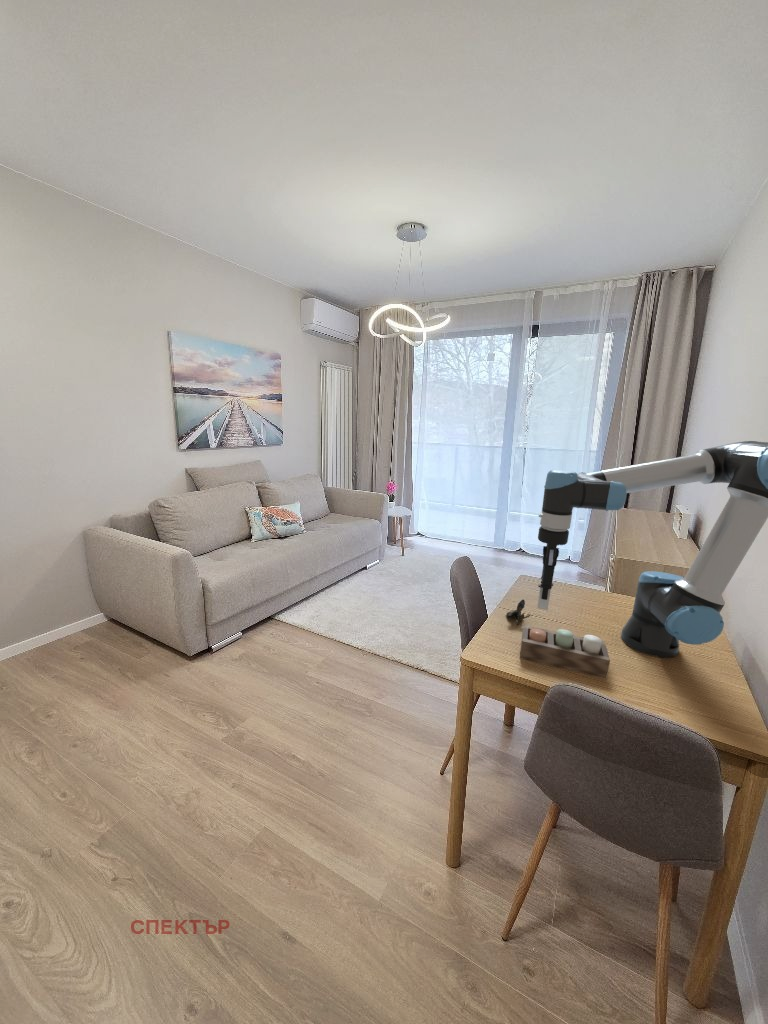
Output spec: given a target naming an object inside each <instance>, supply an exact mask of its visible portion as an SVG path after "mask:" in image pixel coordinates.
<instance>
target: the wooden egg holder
mask: <svg viewBox="0 0 768 1024" xmlns="http://www.w3.org/2000/svg"><path fill="white" fill-rule="evenodd" d="M531 629H541V630H543V631H544V632H546V639H545V643H542V642H537V641H533V640H529V635H530V630H531ZM556 634H557V631H554V630H549V629H544V628H540V627H534V626H531V625H526V624H524V625H523V629H522V635H521V643H520V654H519V659H520V660H523V661H528V662H533V663H538V664H541V665H545V666H550V667H555V668H559V669H562V670H568V671H571V672H576V673H580V674H584V675H587V676H588V675H589V676H593V677H597V678H602V679H605V680H607V678H608V673H609V672H608V671H609V667H610V662H611V659H610V655H609V652H608V648H607V644H606V641H603V640H602V643H601V648H600V653H599V655H596V654H592V653H587V652H583V651H582V645H583V640H584V636H580V635H574V637H573V643H572V649H569V648H565V647H560V646H555V640H556Z"/></svg>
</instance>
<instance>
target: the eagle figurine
mask: <svg viewBox="0 0 768 1024" xmlns="http://www.w3.org/2000/svg"><path fill="white" fill-rule="evenodd" d="M525 605H526V601H525V599H521V600H520V601H519V602H518V604H517V606H516V609H513V610H510V611H508V612H506V615H507V616H509V617H511V616H513V617H514V618H515V621H517V622H516V623H517V624H516V626H519V624H520V623H521V622H524V621H525V620H524V619H527V618H529V617H531V614H528V615H525V613H524V612H522V611H523V609H524V608H525Z"/></svg>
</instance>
